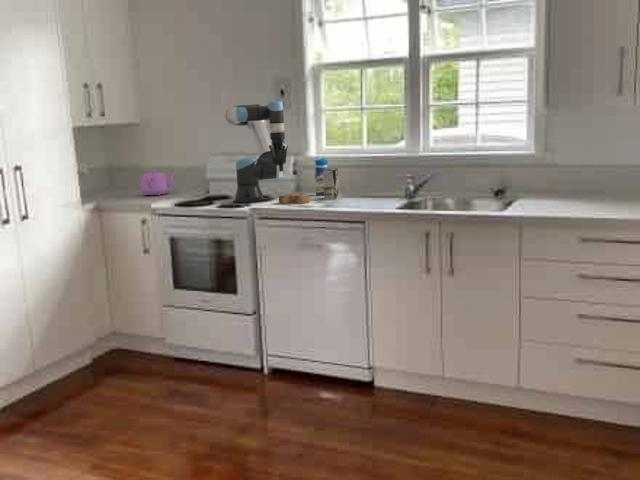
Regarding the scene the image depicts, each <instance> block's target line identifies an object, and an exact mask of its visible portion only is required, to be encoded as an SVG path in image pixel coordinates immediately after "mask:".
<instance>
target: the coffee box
mask: <svg viewBox="0 0 640 480" xmlns="http://www.w3.org/2000/svg"><path fill="white" fill-rule="evenodd" d="M323 175H324V196H323V197H324V201H331V200H333V201H335V200H338V199H340V192H339V191H340V189H339V168H338V167H337V168H328V169H325V170H324V171H323Z"/></svg>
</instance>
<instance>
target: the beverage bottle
mask: <svg viewBox="0 0 640 480" xmlns="http://www.w3.org/2000/svg"><path fill="white" fill-rule="evenodd" d="M314 162H315V166H316V167H315V169H314V182H315V183H314V184H315V196H316V197H324V175H323V171H324V170H325V169H329V167H328V165H329V161H328V158H316V159H315V161H314Z"/></svg>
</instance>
